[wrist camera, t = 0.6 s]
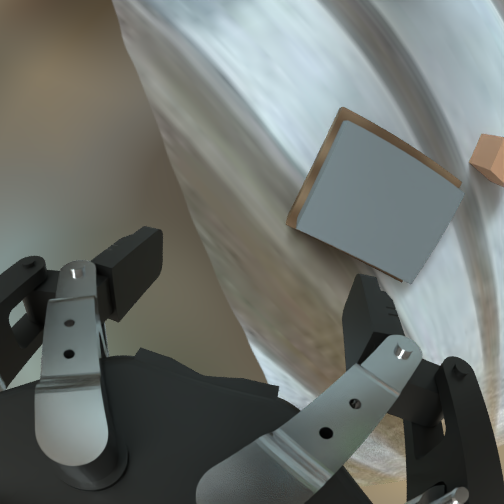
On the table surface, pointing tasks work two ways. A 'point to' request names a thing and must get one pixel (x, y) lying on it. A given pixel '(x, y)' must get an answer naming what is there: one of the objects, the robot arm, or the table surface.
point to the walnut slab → (314, 171)
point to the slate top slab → (378, 203)
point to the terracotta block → (490, 158)
